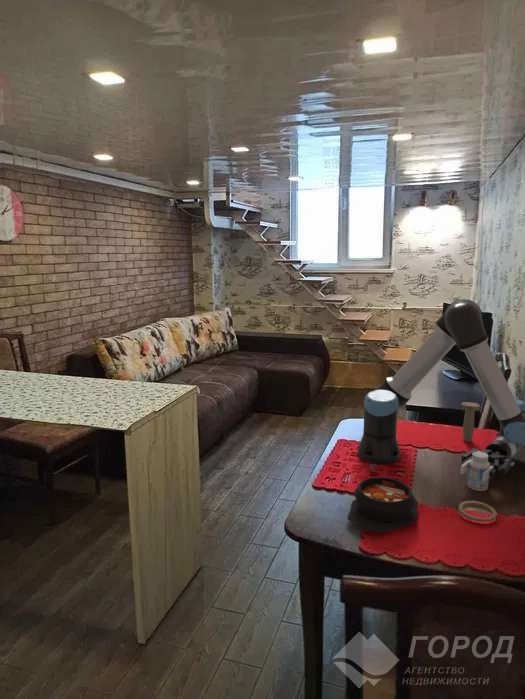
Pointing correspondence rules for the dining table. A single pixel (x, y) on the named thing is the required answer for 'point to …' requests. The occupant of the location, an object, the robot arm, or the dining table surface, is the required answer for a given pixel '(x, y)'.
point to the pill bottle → (478, 471)
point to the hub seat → (479, 508)
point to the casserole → (382, 505)
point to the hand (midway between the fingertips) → (472, 473)
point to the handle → (469, 420)
